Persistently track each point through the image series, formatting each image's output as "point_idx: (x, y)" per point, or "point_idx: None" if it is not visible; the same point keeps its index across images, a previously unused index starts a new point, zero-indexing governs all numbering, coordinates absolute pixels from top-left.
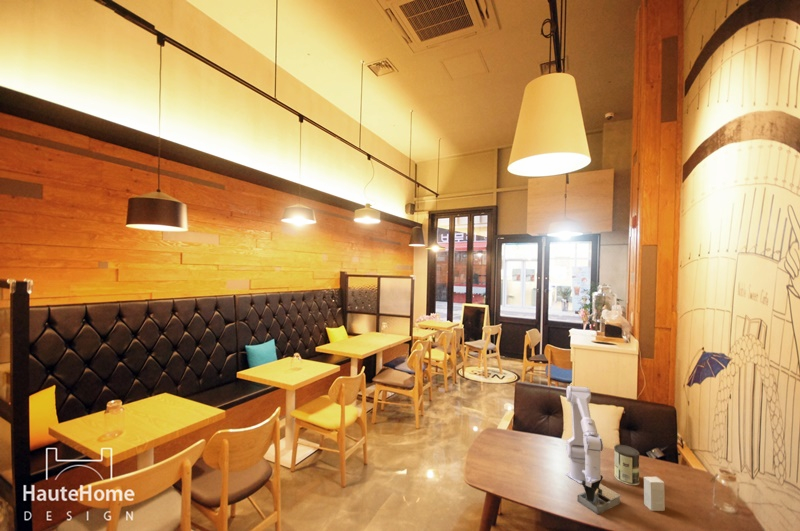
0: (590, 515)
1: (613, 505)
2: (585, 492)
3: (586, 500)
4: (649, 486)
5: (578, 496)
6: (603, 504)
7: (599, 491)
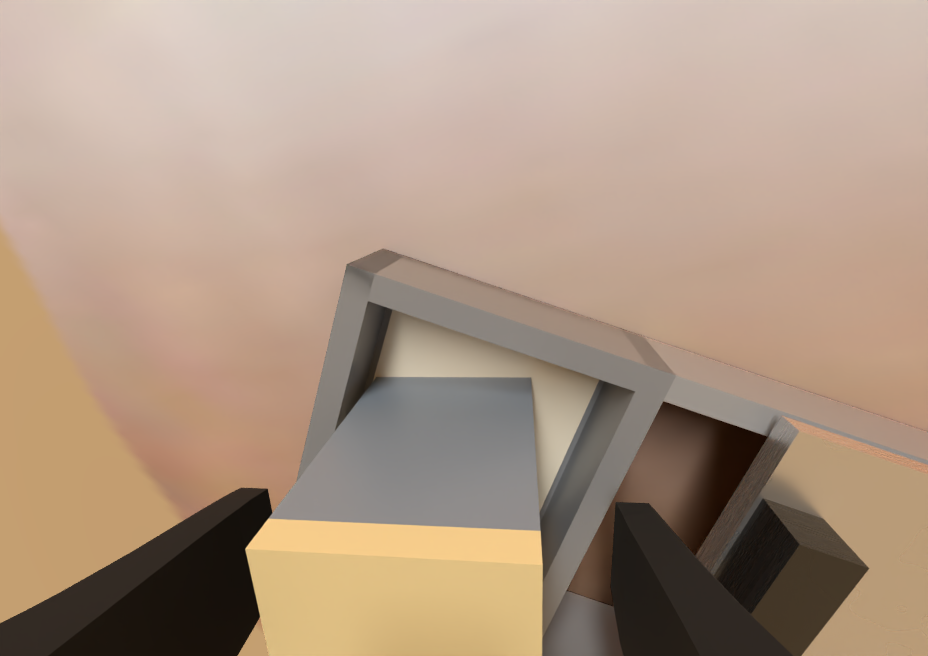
0: (225, 457)
1: None
2: (574, 358)
3: (322, 428)
4: None
5: (346, 281)
6: None
7: None
